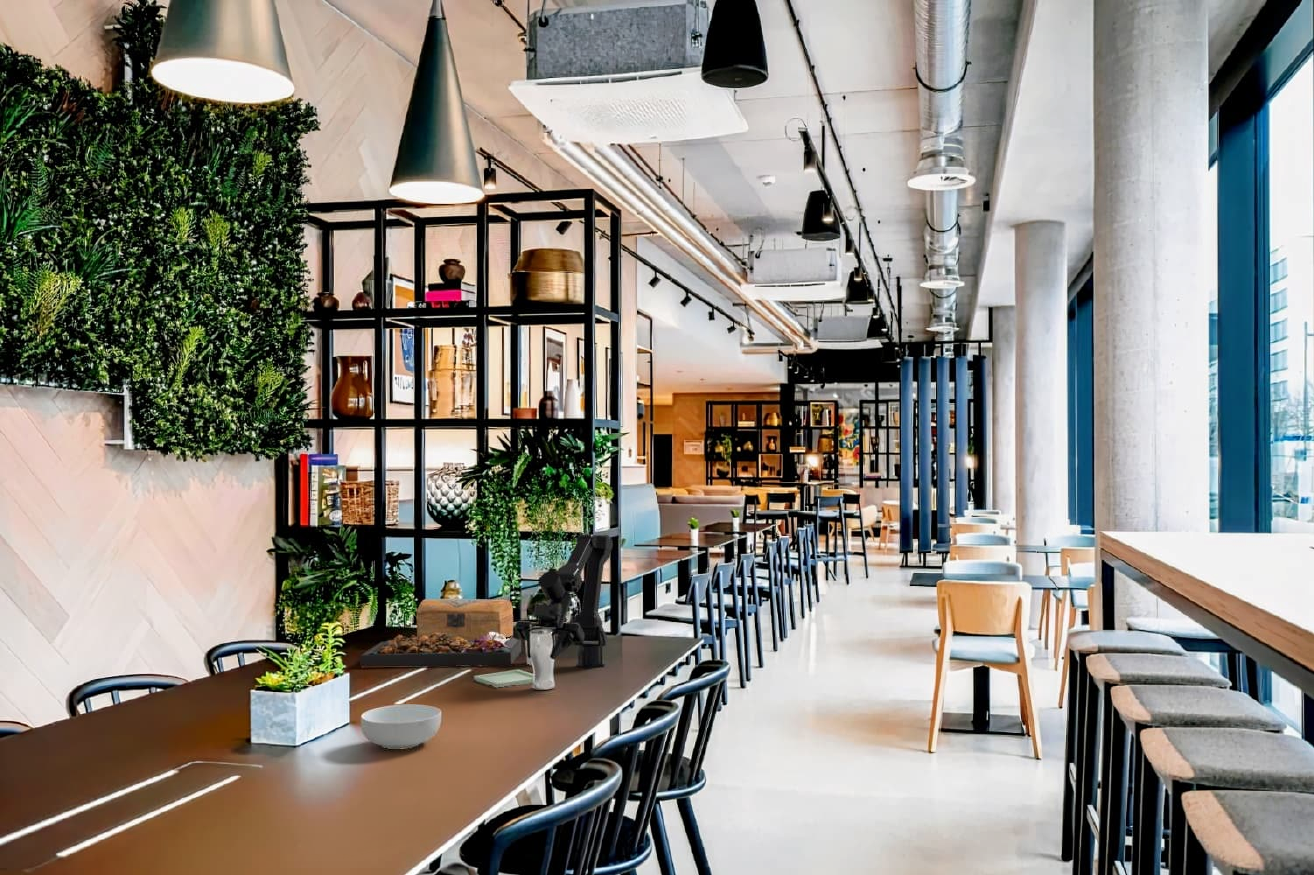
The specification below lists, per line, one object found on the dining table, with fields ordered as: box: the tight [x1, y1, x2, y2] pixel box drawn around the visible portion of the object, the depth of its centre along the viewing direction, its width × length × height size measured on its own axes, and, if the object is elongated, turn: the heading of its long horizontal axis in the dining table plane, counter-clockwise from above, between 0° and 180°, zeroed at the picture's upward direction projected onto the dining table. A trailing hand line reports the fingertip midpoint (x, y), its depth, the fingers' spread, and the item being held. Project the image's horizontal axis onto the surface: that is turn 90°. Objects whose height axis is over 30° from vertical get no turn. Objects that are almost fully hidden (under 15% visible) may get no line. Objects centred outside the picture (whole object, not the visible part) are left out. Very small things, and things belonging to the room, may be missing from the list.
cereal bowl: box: [360, 703, 442, 749], centre depth 231 cm, size 17×17×7 cm
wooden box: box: [416, 598, 514, 640], centre depth 371 cm, size 30×16×14 cm, turn 80°
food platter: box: [359, 632, 522, 667], centre depth 333 cm, size 45×25×10 cm, turn 90°
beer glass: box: [529, 629, 556, 691], centre depth 286 cm, size 7×7×15 cm
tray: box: [473, 668, 533, 689], centre depth 298 cm, size 14×14×1 cm
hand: (540, 657), depth 285 cm, fingers open, 7 cm apart
